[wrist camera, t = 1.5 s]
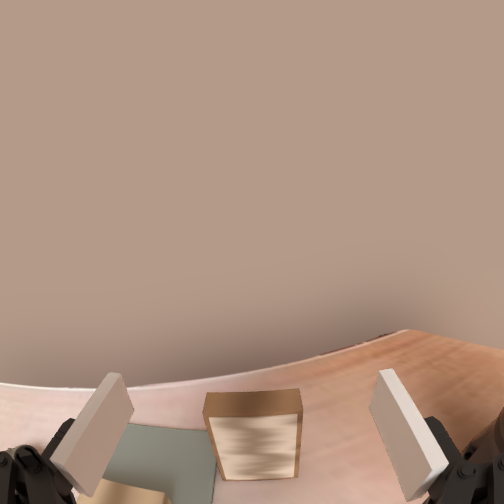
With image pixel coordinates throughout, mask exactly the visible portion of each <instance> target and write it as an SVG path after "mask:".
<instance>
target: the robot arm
mask: <svg viewBox="0 0 504 504" xmlns="http://www.w3.org/2000/svg"><path fill="white" fill-rule="evenodd" d="M369 409H370V412H371V414H372V416H373V419H374V421H375V423H376V426H377V428H378V430H379V433H380V435H381V438H382V440H383V442H384V445H385V447H386V450H387V452H388V455H389V457H390V460H391V462H392V465H393V467H394V470H395V472H396V475H397V478H398V480H399V483H400V485H401V488H402V491H403V493H404V496H405V499H406V502H409V501H412V500H415V499H417V498H420V497H422V496H423V495H424V494H425V493H426V492H427V491H428V493H429V495H430V496H429V497H428V498H427V499H426V500H425V501H424V502H423V504H504V407H503V409H502V411H501V413H500V414H499V416H498V418H497V419H495V420H494V421H493V422H492V423H491V424H490V425H489V426H488V427H486V428H485V429H484V430H483V431H482V432H480V433H479V434H478V435H477V436H475V437H474V438H473V439H472V440H471V442H470V443H469V444H468V445H467V446H466V448H465V449H464V451H463V452H462V454H460V453H459V451H458V449H457V448H456V446H455V444H454V443H453V441H452V439H451V438H450V437H449V435H448V433H447V431H445V428H444V427H443V425H442V423H441V422H440V421H439V420H437V419H436V418H435V417H433V416H431V417H428V418H425V419H423V417H422V415H421V414H420V412H419V410H418V409H417V407H416V405H415V404H414V402H413V400H412V399H411V397H410V396H409V394H408V392H407V391H406V389H405V388H404V386H403V384H402V383H401V381H400V380H399V378H398V376H397V375H396V373H395V372H394V370H393V369H392V368H390V369H385V370H379V372H378V377H377V381H376V385H375V389H374V392H373V396H372V400H371V403H370V407H369ZM133 412H134V408H133V405H132V403H131V400H130V397H129V395H128V392H127V389H126V387H125V384H124V381H123V378H122V375H121V374H120V373H113V372H109V373H108V374H107V375H106V377H105V378H104V380H103V381H102V383H101V384H100V385H99V387H98V388H97V389H96V391H95V392H94V394H93V395H92V397H91V398H90V399H89V401H88V402H87V404H86V405H85V407H84V408H83V410H82V411H81V412H80V414H79V415H78V417H77V418H76V420H75V419H72V418H70V419H68V420H67V421H65V422H64V423H63V424H62V425H61V427H60V428H59V429H58V432H56V434H55V435H54V437H53V438H52V440H51V441H50V442H49V444H48V445H47V447H46V448H45V450H44V451H43V453H42V454H41V456H40V454H39V453H38V452H37V450H36V449H35V448H34V447H32V446H29V445H24V446H21V447H19V448H18V449H17V450H16V451H15V453H14V459H13V458H12V456H11V455H10V454H9V453H7V452H4V451H1V452H0V504H77V503H76V501H75V498H74V495H73V493H72V492H71V490H72V488H73V487H74V488H75V489H76V490H77V491H78V493H80V494H83V495H85V496H88V497H91V498H93V496H94V493H95V491H96V489H97V487H98V485H99V482H100V480H101V478H102V476H103V474H104V472H105V470H106V467H107V465H108V463H109V461H110V459H111V457H112V455H113V453H114V451H115V449H116V446H117V444H118V442H119V440H120V438H121V436H122V434H123V432H124V430H125V428H126V426H127V424H128V422H129V420H130V418H131V416H132V414H133Z"/></svg>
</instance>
